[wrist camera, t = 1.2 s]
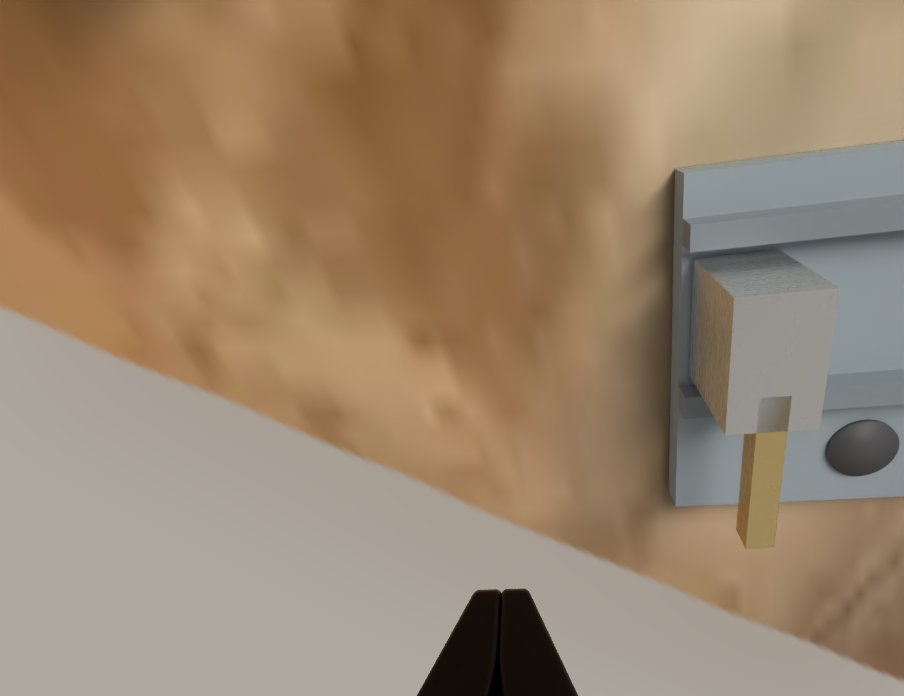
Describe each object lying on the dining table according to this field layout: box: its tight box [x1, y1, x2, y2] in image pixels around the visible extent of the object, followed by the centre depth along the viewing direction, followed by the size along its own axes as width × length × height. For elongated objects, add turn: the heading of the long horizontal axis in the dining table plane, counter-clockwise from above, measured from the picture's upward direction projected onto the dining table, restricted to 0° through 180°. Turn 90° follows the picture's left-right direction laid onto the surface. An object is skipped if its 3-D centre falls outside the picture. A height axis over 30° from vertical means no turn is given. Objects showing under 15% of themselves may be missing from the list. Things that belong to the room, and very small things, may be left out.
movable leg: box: [689, 249, 840, 548], centre depth 17 cm, size 2×8×4 cm, turn 8°
